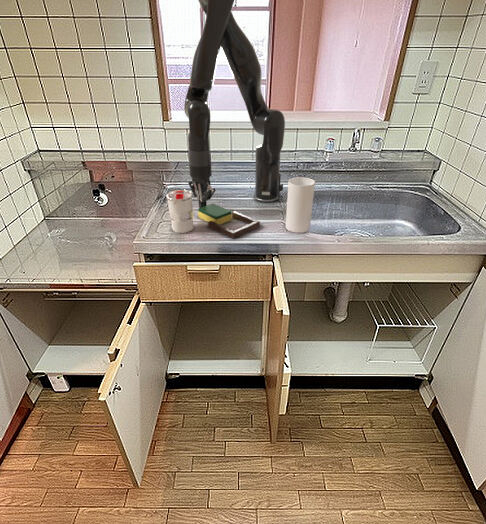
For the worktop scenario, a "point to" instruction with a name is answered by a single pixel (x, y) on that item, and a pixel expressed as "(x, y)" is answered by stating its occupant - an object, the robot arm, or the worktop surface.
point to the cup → (299, 204)
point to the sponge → (215, 214)
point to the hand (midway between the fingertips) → (202, 209)
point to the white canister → (180, 210)
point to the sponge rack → (234, 234)
